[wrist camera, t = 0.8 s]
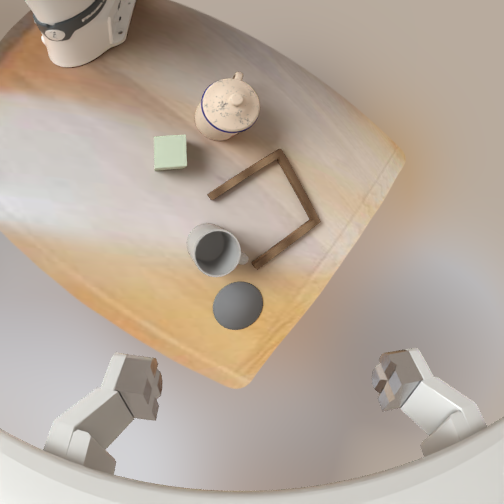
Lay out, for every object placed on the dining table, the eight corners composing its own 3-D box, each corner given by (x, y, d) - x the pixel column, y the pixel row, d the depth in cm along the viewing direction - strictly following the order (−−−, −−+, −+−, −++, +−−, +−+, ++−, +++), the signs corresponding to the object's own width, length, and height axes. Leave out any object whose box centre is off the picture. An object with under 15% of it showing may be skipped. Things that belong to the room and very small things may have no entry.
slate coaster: (217, 278, 52) (218, 279, 52) (266, 283, 56) (267, 284, 55) (208, 327, 54) (209, 328, 53) (255, 329, 57) (256, 330, 57)
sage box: (153, 142, 43) (153, 136, 39) (182, 140, 45) (186, 134, 40) (154, 170, 44) (154, 168, 40) (183, 168, 46) (186, 165, 41)
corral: (254, 267, 54) (257, 269, 53) (207, 194, 48) (208, 194, 47) (316, 221, 57) (320, 221, 55) (277, 149, 51) (281, 148, 49)
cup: (194, 217, 48) (203, 222, 40) (245, 235, 52) (263, 243, 44) (180, 256, 49) (186, 269, 41) (231, 271, 53) (247, 287, 44)
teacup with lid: (235, 148, 48) (258, 137, 37) (186, 134, 45) (196, 117, 34) (252, 91, 47) (278, 69, 36) (207, 76, 43) (222, 48, 33)
